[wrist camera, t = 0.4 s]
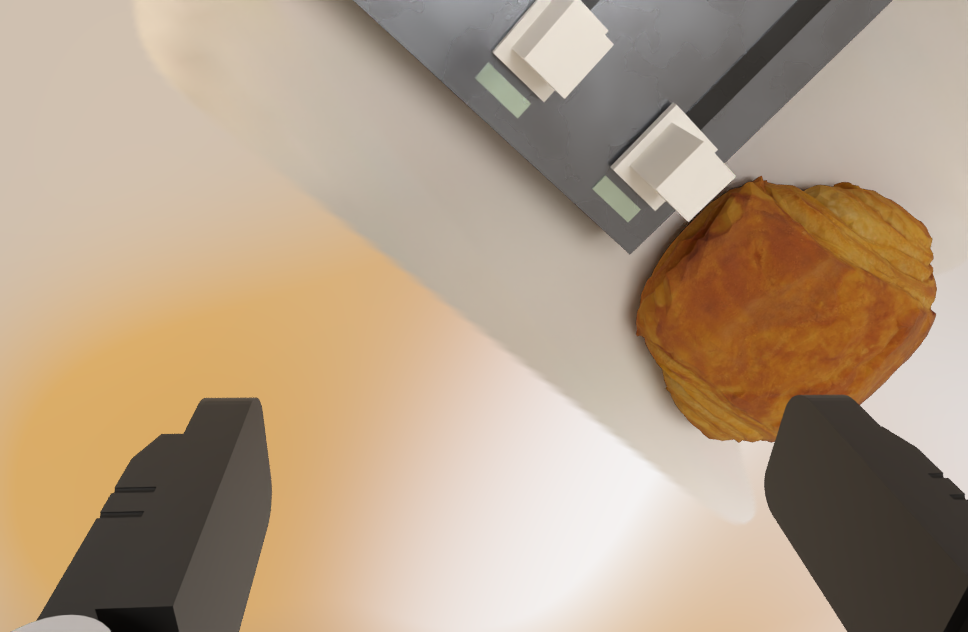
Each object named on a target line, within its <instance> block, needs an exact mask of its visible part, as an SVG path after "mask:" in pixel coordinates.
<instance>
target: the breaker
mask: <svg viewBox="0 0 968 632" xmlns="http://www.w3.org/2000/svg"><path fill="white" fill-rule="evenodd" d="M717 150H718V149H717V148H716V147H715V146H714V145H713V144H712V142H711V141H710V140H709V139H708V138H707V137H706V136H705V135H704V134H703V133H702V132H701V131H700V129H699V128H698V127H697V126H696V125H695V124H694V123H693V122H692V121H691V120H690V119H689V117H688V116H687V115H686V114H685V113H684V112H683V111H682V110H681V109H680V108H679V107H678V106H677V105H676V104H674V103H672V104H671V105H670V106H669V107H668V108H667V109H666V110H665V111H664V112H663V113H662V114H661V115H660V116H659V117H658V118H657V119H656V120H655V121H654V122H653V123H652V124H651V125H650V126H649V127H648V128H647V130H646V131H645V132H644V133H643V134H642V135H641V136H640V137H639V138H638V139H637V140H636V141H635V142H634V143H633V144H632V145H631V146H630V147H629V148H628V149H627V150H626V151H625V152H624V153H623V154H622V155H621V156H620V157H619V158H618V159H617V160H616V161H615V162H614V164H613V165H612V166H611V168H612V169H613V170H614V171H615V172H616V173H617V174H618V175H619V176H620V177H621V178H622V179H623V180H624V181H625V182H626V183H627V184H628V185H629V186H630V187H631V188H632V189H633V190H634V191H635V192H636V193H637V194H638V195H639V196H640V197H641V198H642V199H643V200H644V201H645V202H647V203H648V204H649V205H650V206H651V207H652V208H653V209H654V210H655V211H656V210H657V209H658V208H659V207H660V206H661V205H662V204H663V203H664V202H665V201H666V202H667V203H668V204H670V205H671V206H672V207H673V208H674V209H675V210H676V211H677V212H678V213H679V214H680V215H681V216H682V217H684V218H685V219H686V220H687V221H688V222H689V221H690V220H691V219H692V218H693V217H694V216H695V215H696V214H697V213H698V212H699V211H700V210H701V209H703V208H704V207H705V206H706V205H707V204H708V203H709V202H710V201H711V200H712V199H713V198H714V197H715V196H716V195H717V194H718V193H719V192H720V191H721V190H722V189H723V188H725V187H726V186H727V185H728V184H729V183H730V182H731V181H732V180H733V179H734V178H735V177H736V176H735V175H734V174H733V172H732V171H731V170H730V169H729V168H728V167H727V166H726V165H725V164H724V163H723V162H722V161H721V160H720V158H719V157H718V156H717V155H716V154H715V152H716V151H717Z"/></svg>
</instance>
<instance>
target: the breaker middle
mask: <svg viewBox="0 0 968 632" xmlns="http://www.w3.org/2000/svg"><path fill="white" fill-rule="evenodd" d="M607 32H608V29H607V28H606V27H605V26H604V25H603V24H602V23H601V22H600V21H599V20H598V19H597V17H596V16H595V15H594V14H593V13H592V12H591V11H590V10H589V9H588V8H587V7H586V6H585V4H584V3H583V2H582V1H581V0H535V2H534V3H533V4H532V5H531V6H530V8H529V9H528V10H527V11H526V12H525V13H524V15H523V16H522V17H521V18H520V19H519V20H518V22H517V23H516V24H515V25H514V26H513V28H512V29H511V30H510V31H509V32H508V33H507V35H506V36H505V37H504V38H503V39H502V41H501V42H500V43H499V44H498V45H497V46H496V48H495V49H494V50H493V51H492V52H493V53H494V54H495V55H496V56H497V57H498V58H499V59H500V60H501V61H502V62H503V63H504V64H505V65H506V66H507V67H508V68H509V69H510V70H511V71H512V72H513V73H514V74H515V75H516V76H517V77H518V78H519V79H520V80H522V81H523V82H524V83H525V84H526V85H527V86H528V87H529V88H530V89H531V90H532V91H533V92H534V93H535V94H536V95H537V96H538V97H539V98H540V99H541V100H542V101H543V102H545V101H546V100H547V99H548V98H549V96H550V95H551V94H552V93H553V92H554V91H556V92H557V93H558V94H560V95H561V96H562V97H563V98H564V99H565V98H566V97H567V96H568V95H569V94H570V93H571V91H572V90H573V89H574V88H575V87H576V86H577V85H578V84H579V83H580V82H581V80H582V79H583V78H584V77H585V76H586V75H587V74H588V73H589V72H590V71H591V69H592V68H593V67H594V66H595V65H596V64H597V63H598V62H599V61H600V60H601V59H602V57H603V56H604V55H605V54H606V53H607V52H608V51H609V50H610V49H611V48H612V46H613V45H614V44H613V43H612V42H611V41H610V40H609V39H608V37H607V36H606V35H605V34H606V33H607Z"/></svg>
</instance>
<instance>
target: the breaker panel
mask: <svg viewBox="0 0 968 632" xmlns="http://www.w3.org/2000/svg"><path fill="white" fill-rule="evenodd" d="M353 1H355V2H356V3H357V4H358V5H359V6H360V7H361V8H362V9H363V10H364V11H365V12H367V13H368V14H369V15H370V16H371V17H372V18H373V19H374V20H375V21H376V22H377V23H378V24H380V25H381V26H382V27H383V28H384V29H385V30H386V31H387V32H388V33H389V34H390V35H392V36H393V37H394V38H395V39H396V40H397V41H398V42H399V43H400V44H401V45H402V46H404V47H405V48H406V49H407V50H408V51H409V52H410V53H411V54H412V55H413V56H414V57H416V58H417V59H418V60H419V61H420V62H421V63H422V64H423V65H424V66H425V67H426V68H427V69H429V70H430V71H431V72H432V73H433V74H434V75H435V76H436V77H437V78H438V79H439V80H441V81H442V82H443V83H444V84H445V85H446V86H447V87H448V88H449V89H450V90H451V91H453V92H454V93H455V94H456V95H457V96H458V97H459V98H460V99H461V100H462V101H463V102H464V103H466V104H467V105H468V106H469V107H470V108H471V109H472V110H473V111H474V112H475V113H476V114H478V115H479V116H480V117H481V118H482V119H483V120H484V121H485V122H486V123H487V124H488V125H490V126H491V127H492V128H493V129H494V130H495V131H496V132H497V133H498V134H499V135H500V136H501V137H503V138H504V139H505V140H506V141H507V142H508V143H509V144H510V145H511V146H512V147H513V148H515V149H516V150H517V151H518V152H519V153H520V154H521V155H522V156H523V157H524V158H525V159H527V160H528V161H529V162H530V163H531V164H532V165H533V166H534V167H535V168H536V169H537V170H538V171H540V172H541V173H542V174H543V175H544V176H545V177H546V178H547V179H548V180H549V181H550V182H552V183H553V184H554V185H555V186H556V187H557V188H558V189H559V190H560V191H561V192H562V193H564V194H565V195H566V196H567V197H568V198H569V199H570V200H571V201H572V202H573V203H574V204H575V205H577V206H578V207H579V208H580V209H581V210H582V211H583V212H584V213H585V214H586V215H587V216H589V217H590V218H591V219H592V220H593V221H594V222H595V223H596V224H597V225H598V226H599V227H601V228H602V229H603V230H604V231H605V232H606V233H607V234H608V235H609V236H610V237H611V238H613V239H614V240H615V241H616V242H617V243H618V244H619V245H620V246H621V247H622V248H623V249H624V250H626V251H627V252H628V253H629V254H631V253H632V252H633V251H634V250H635V249H636V248H637V247H638V246H639V245H640V244H641V243H642V242H643V241H645V240H646V239H647V238H648V237H649V236H650V235H651V234H652V233H653V232H654V231H655V230H656V229H657V228H658V227H659V226H660V225H661V224H662V223H663V222H664V221H665V220H666V219H667V218H668V217H669V216H670V215H671V214H672V213H673V212H674V211H676V210H675V209H674V208H673V207H672V206H671V205H670V204H668V203H667V202H666V201H665V202H664V203H663V204H662V205H661V206H660V207H659V208H658V209H657V210H656V211H655V210H654V209H653V208H652V207H651V206H650V205H649V204H648V203H647V202H645V201H644V200H643V199H642V198H641V197H640V196H639V195H638V194H637V193H636V192H635V191H634V190H633V189H632V188H631V187H630V186H629V185H628V184H627V183H626V182H625V181H624V180H623V179H622V178H621V177H620V176H619V175H618V174H617V173H616V172H615V171H614V170H613V169H612V168H611V166H612V165H613V164H614V162H615V161H616V160H617V159H618V158H619V157H620V156H621V155H622V154H623V153H624V152H625V151H626V150H627V149H628V148H629V147H630V146H631V145H632V144H633V143H634V142H635V141H636V140H637V139H638V138H639V137H640V136H641V135H642V134H643V133H644V132H645V131H646V130H647V128H648V127H649V126H650V125H651V124H652V123H653V122H654V121H655V120H656V119H657V118H658V117H659V116H660V115H661V114H662V113H663V112H664V111H665V110H666V109H667V108H668V107H669V106H670V105H671V104H672V103H674V104H676V105H677V106H678V107H679V108H680V109H681V110H682V111H683V112H684V113H685V114H686V115H687V116H688V117H689V119H690V120H691V121H692V122H693V123H694V124H695V125H696V126H697V127H698V128H699V129H700V131H701V132H702V133H703V134H704V135H705V136H706V137H707V138H708V139H709V140H710V141H711V142H712V144H713V145H714V146H715V147H716V148H717V149H718V150H717V151H716V152H715V154H716V155H717V156H718V157H719V158H720V160H721V161H722V162H723V163H725V162H726V161H727V160H728V159H729V158H730V157H731V156H732V155H733V154H734V153H735V152H736V151H738V150H739V149H740V148H741V147H742V146H743V145H744V144H745V143H746V142H747V141H748V140H749V139H750V138H751V137H752V136H753V135H754V134H755V133H756V132H757V131H758V130H759V129H760V128H761V127H762V126H763V125H764V124H765V123H766V122H767V121H768V120H770V119H771V118H772V117H773V116H774V115H775V114H776V113H777V112H778V111H779V110H780V109H781V108H782V107H783V106H784V105H785V104H786V103H787V102H788V101H789V100H790V99H791V98H792V97H793V96H794V95H795V94H796V93H797V92H798V91H799V90H801V89H802V88H803V87H804V86H805V85H806V84H807V83H808V82H809V81H810V80H811V79H812V78H813V77H814V76H815V75H816V74H817V73H818V72H819V71H820V70H821V69H822V68H823V67H824V66H825V65H826V64H827V63H828V62H829V61H830V60H832V59H833V58H834V57H835V56H836V55H837V54H838V53H839V52H840V51H841V50H842V49H843V48H844V47H845V46H846V45H847V44H848V43H849V42H850V41H851V40H852V39H853V38H854V37H855V36H856V35H857V34H858V33H859V32H860V31H861V30H863V29H864V28H865V27H866V26H867V25H868V24H869V23H870V22H871V21H872V20H873V19H874V18H875V17H876V16H877V15H878V14H879V13H880V12H881V11H882V10H883V9H884V8H885V7H886V6H887V5H888V4H889V3H890V2H891V1H892V0H581V1H582V2H583V3H584V4H585V6H586V7H587V8H588V9H589V10H590V11H591V12H592V13H593V14H594V15H595V16H596V17H597V19H598V20H599V21H600V22H601V23H602V24H603V25H604V26H605V27H606V28H607V29H608V32H607V33H606V34H605V35H606V36H607V37H608V39H609V40H610V41H611V42H612V43H613V44H614V45H613V46H612V48H611V49H610V50H609V51H608V52H607V53H606V54H605V55H604V56H603V57H602V59H601V60H600V61H599V62H598V63H597V64H596V65H595V66H594V67H593V68H592V69H591V71H590V72H589V73H588V74H587V75H586V76H585V77H584V78H583V79H582V80H581V82H580V83H579V84H578V85H577V86H576V87H575V88H574V89H573V90H572V91H571V93H570V94H569V95H568V96H567V97H566V98H565V99H564V98H563V97H562V96H561V95H560V94H558V93H557V92H556V91H554V92H553V93H552V94H551V95H550V96H549V98H548V99H547V100H546V101H545V102H543V101H542V100H541V99H540V98H539V97H538V96H537V95H536V94H535V93H534V92H533V91H532V90H531V89H530V88H529V87H528V86H527V85H526V84H525V83H524V82H523V81H522V80H520V79H519V78H518V77H517V76H516V75H515V74H514V73H513V72H512V71H511V70H510V69H509V68H508V67H507V66H506V65H505V64H504V63H503V62H502V61H501V60H500V59H499V58H498V57H497V56H496V55H495V54H494V53H493V52H492V51H493V50H494V49H495V48H496V46H497V45H498V44H499V43H500V42H501V41H502V39H503V38H504V37H505V36H506V35H507V33H508V32H509V31H510V30H511V29H512V28H513V26H514V25H515V24H516V23H517V22H518V20H519V19H520V18H521V17H522V16H523V15H524V13H525V12H526V11H527V10H528V9H529V8H530V6H531V5H532V4H533V3H534V2H535V0H353Z"/></svg>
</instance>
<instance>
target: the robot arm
mask: <svg viewBox="0 0 968 632" xmlns="http://www.w3.org/2000/svg"><path fill="white" fill-rule="evenodd" d="M764 481H765V482H764V487H765V496H766V500H767V503H768V506H769V509H770V511H771V513H772V515H773V516H774V518H775V519H776V521H777V523H778V524H779V526H780V527H781V529H782V530H783V532H784V534H785V535H786V537H787V538H788V540H789V541H790V543H791V544H792V546H793V548H794V549H795V551H796V552H797V554H798V555H799V557H800V558H801V560H802V562H803V563H804V565H805V566H806V568H807V569H808V571H809V572H810V574H811V576H812V577H813V579H814V580H815V582H816V583H817V585H818V586H819V588H820V590H821V591H822V593H823V594H824V596H825V597H826V599H827V601H828V602H829V604H830V605H831V607H832V608H833V610H834V611H835V613H836V614H837V616H838V618H839V619H840V621H841V622H842V624H843V626H844V627H845V628H846V630H847V632H968V500H966V499H965V494H964V493H963V492H962V491H961V490H960V489H959V488H958V487H957V486H956V485H955V484H954V483H953V482H952V481H951V480H950V479H949V478H944V477H943V472H941V470H939V469H938V468H937V467H936V466H935V465H934V464H933V463H932V462H931V461H930V460H929V459H928V458H927V457H926V456H925V455H924V454H923V453H922V452H921V451H920V450H919V449H918V448H917V447H915V446H913V445H912V444H910V443H908V442H907V441H905V440H903V439H902V438H900V437H899V436H897V435H895V434H894V433H892V432H890V431H889V430H887V429H885V428H884V427H881V426H880V425H879V424H878V423H877V422H876V421H875V420H874V419H872V417H871V416H870V415H869V414H868V413H867V412H866V411H865V410H864V409H863V408H862V407H861V406H860V405H859V404H858V403H857V402H856V401H855V400H854V399H852V398H851V397H849V396H847V395H796V396H793V397H792V398H791V399H790V400H789V401H788V403H787V405H786V408H785V410H784V414H783V417H782V420H781V423H780V427H779V430H778V433H777V436H776V440H775V443H774V446H773V450H772V453H771V456H770V460H769V462H768V466H767V469H766V473H765V480H764ZM271 496H272V485H271V475H270V467H269V458H268V451H267V443H266V435H265V427H264V419H263V411H262V406H261V403H260V401H259V399H258V398H204V399H202V400H201V401H200V403H199V404H198V406H197V408H196V410H195V412H194V414H193V416H192V418H191V420H190V422H189V424H188V426H187V428H186V430H185V432H184V434H161V435H160V436H159V437H158V438H156V439H155V440H154V441H153V442H152V443H150V444H149V445H148V446H147V447H145V448H144V449H143V450H142V451H140V452H139V453H138V454H137V455H136V456H134V457H133V458H132V459H131V461H130V463H129V464H128V466H127V468H126V469H125V471H124V473H123V474H122V476H121V478H120V480H119V481H118V483H117V485H116V486H115V492H114V493H112V494H111V495H110V497H109V498H108V500H107V502H106V504H105V505H104V507H103V508H102V510H101V512H100V513H101V515H100V518H97V519H96V520H95V522H94V524H93V526H92V527H91V529H90V531H89V532H88V534H87V536H86V538H85V539H84V541H83V543H82V544H81V546H80V548H79V549H78V551H77V553H76V555H75V556H74V558H73V560H72V561H71V563H70V565H69V566H68V568H67V570H66V572H65V573H64V575H63V577H62V578H61V580H60V582H59V584H58V585H57V587H56V589H55V590H54V592H53V594H52V596H51V597H50V599H49V601H48V602H47V604H46V606H45V607H44V609H43V611H42V612H41V614H40V616H39V617H38V619H37V620H36V621H35V622H31V623H29V624H27V625H24V626H22V627H19V628H17V629H15V630H13V631H12V632H239V630H240V626H241V622H242V619H243V615H244V611H245V608H246V604H247V600H248V597H249V593H250V589H251V586H252V582H253V578H254V575H255V571H256V567H257V564H258V560H259V556H260V553H261V549H262V545H263V542H264V538H265V534H266V531H267V527H268V523H269V517H270V511H271V498H272V497H271Z"/></svg>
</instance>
